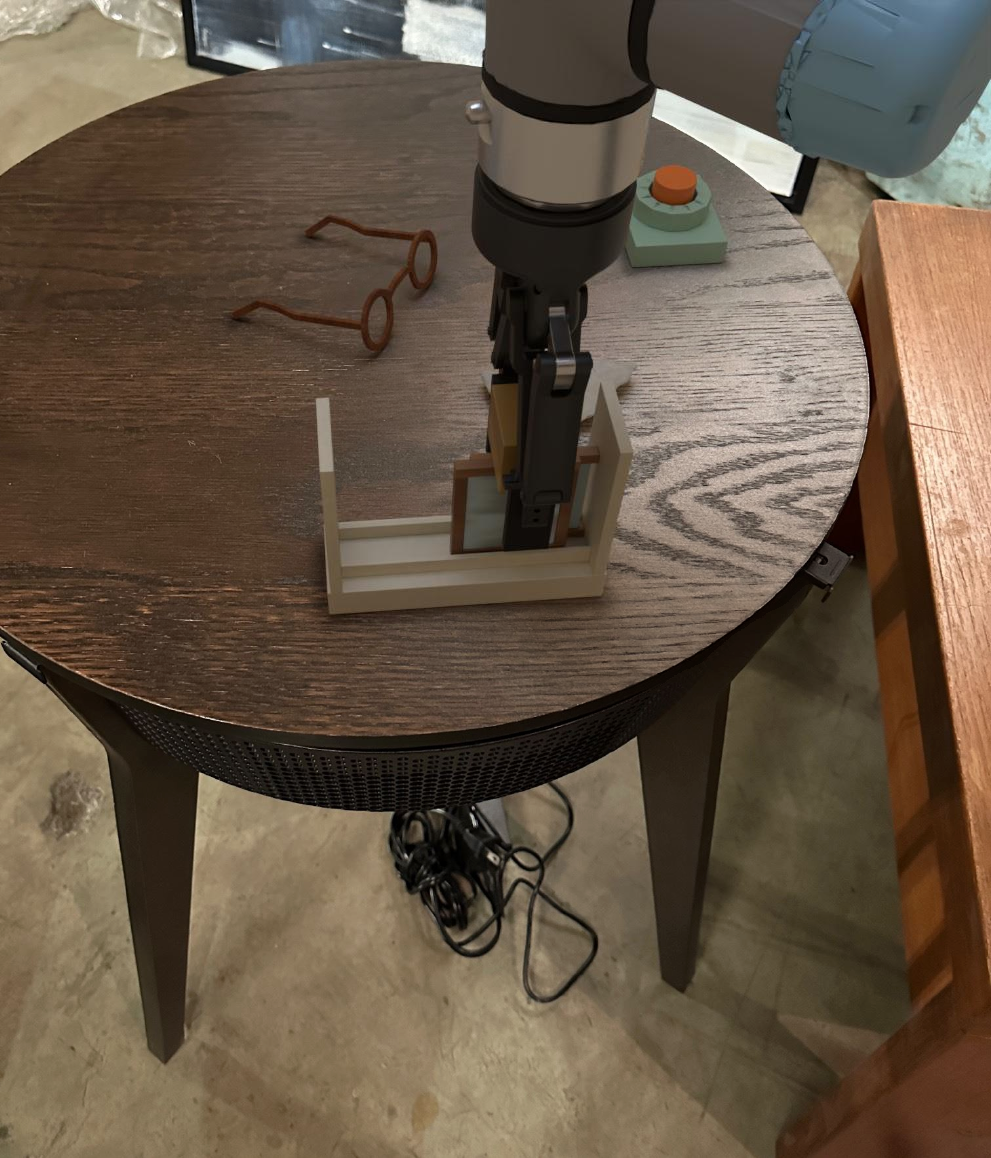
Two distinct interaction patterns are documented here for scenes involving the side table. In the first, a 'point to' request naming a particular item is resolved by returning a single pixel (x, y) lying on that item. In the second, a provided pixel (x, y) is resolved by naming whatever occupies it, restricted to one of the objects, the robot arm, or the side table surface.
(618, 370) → the decorative stone
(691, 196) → the button
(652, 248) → the button box
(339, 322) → the glasses
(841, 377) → the side table surface
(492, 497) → the pane
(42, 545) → the side table surface
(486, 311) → the side table surface
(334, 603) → the window frame
